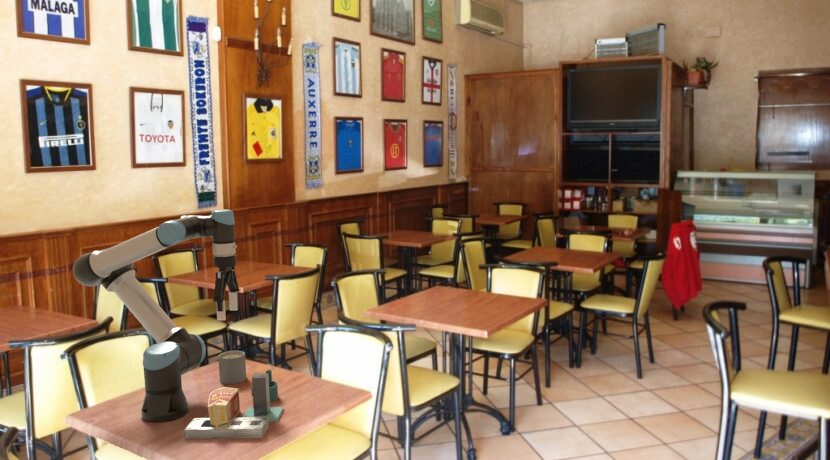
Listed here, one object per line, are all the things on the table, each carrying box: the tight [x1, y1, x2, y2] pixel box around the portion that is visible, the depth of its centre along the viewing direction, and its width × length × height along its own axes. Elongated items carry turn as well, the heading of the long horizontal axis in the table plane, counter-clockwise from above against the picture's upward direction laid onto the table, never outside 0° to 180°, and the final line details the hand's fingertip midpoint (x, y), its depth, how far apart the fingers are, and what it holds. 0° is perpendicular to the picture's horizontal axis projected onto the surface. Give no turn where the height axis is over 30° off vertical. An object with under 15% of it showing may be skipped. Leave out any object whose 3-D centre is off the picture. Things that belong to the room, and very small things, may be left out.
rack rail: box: [183, 417, 270, 440], centre depth 219 cm, size 24×9×3 cm, turn 89°
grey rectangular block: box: [251, 372, 271, 416], centre depth 231 cm, size 4×4×13 cm
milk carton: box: [207, 386, 241, 428], centre depth 226 cm, size 9×9×20 cm
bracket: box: [250, 369, 279, 403], centre depth 247 cm, size 9×9×9 cm
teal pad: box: [241, 406, 285, 423], centre depth 232 cm, size 12×10×1 cm
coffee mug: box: [218, 350, 247, 385], centre depth 270 cm, size 13×10×10 cm
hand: (227, 315), depth 241 cm, fingers open, 13 cm apart
